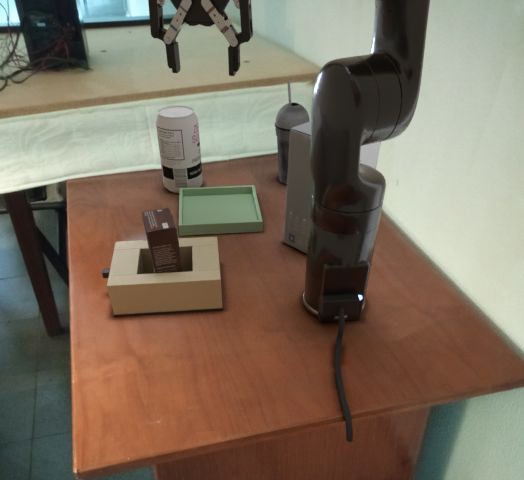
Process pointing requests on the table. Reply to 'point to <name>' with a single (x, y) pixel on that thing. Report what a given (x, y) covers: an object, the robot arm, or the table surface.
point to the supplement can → (179, 147)
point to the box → (162, 241)
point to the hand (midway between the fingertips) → (204, 73)
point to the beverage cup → (287, 131)
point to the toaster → (164, 279)
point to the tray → (219, 210)
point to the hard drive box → (307, 184)
